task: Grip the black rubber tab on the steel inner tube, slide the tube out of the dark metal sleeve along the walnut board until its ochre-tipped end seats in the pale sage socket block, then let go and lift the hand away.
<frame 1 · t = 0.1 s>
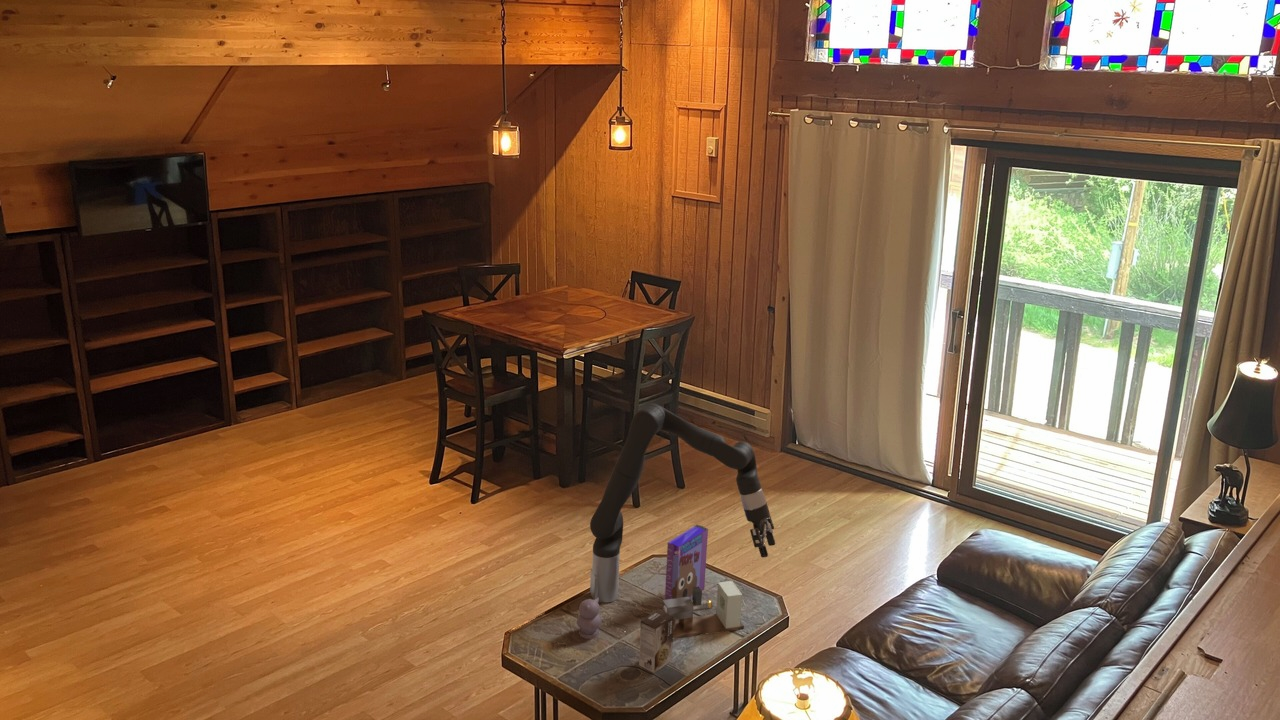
hand: (768, 550, 317), 31 cm above the table, tool tilted 20°, fingers open, 8 cm apart
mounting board: (700, 626, 331), on the table
cereal box: (684, 597, 349), on the table
coffee box: (655, 663, 311), on the table
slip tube: (688, 600, 327), point 10 cm above the table, slide at 0.0 cm
socket block: (727, 622, 334), resting on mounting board
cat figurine: (589, 633, 325), on the table
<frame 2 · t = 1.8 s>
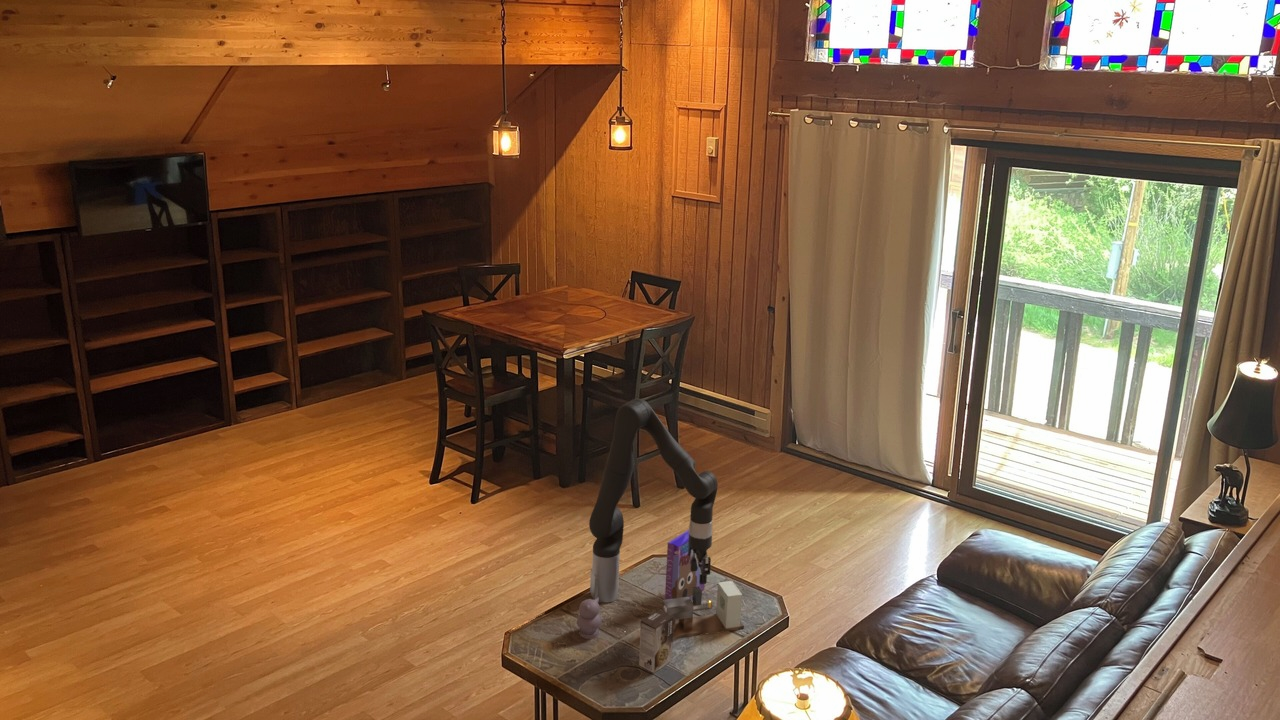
hand: (698, 577, 325), 19 cm above the table, tool pointing down, fingers open, 8 cm apart
nothing on the table moved.
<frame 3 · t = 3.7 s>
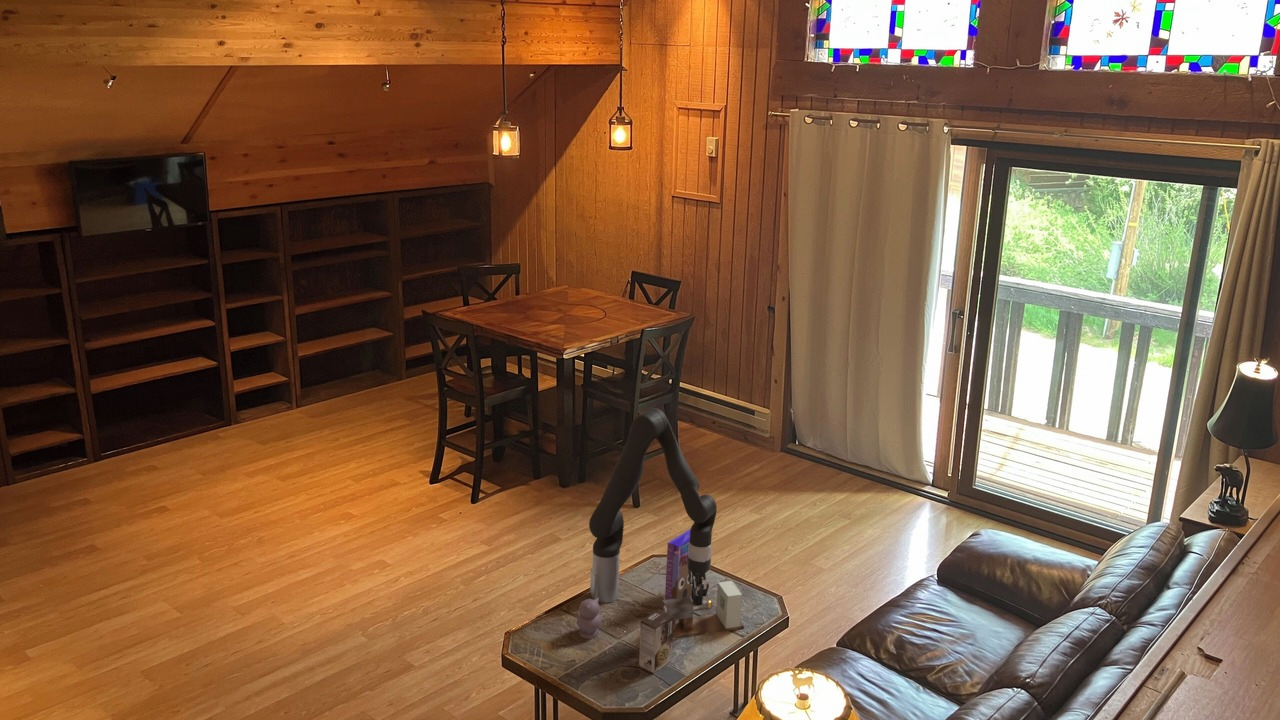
hand: (696, 601, 328), 10 cm above the table, tool pointing down, fingers closed on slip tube, 3 cm apart
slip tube: (688, 600, 327), point 10 cm above the table, slide at 0.0 cm, touching gripper
everything else where it was.
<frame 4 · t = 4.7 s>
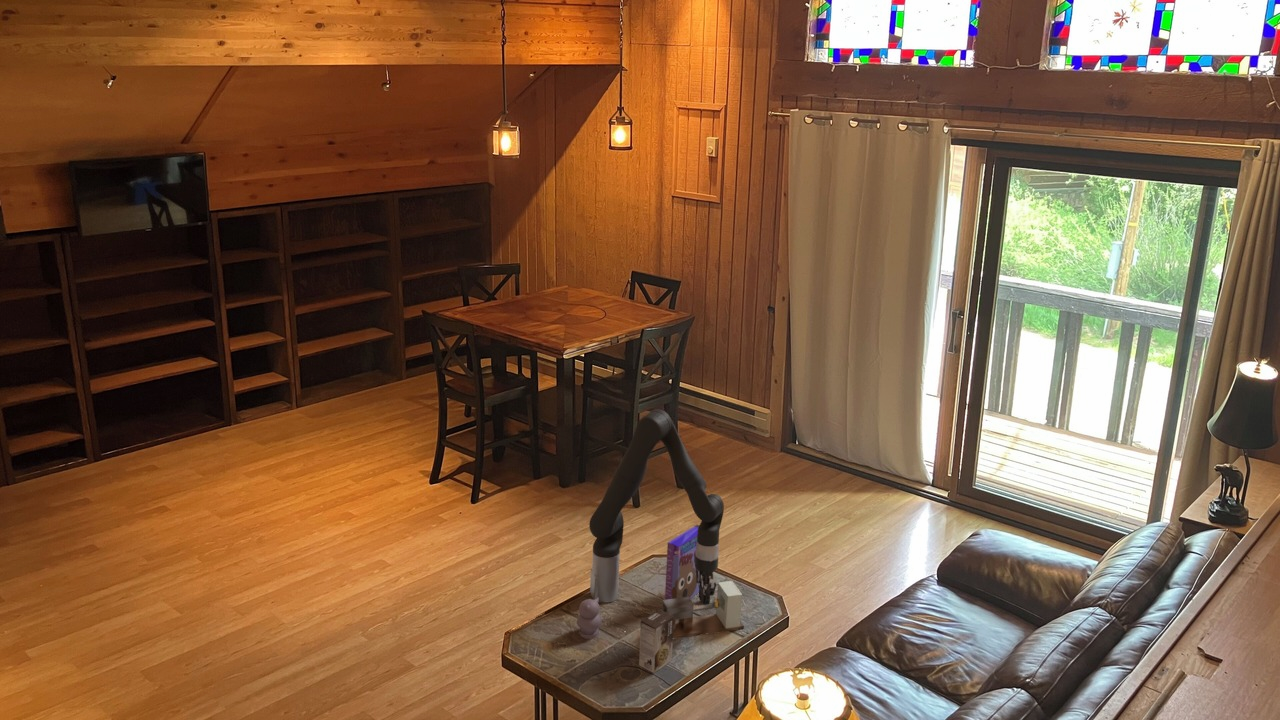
hand: (704, 600, 329), 10 cm above the table, tool pointing down, fingers closed on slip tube, 3 cm apart
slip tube: (695, 599, 328), point 10 cm above the table, slide at 2.5 cm, touching gripper
everything else where it was.
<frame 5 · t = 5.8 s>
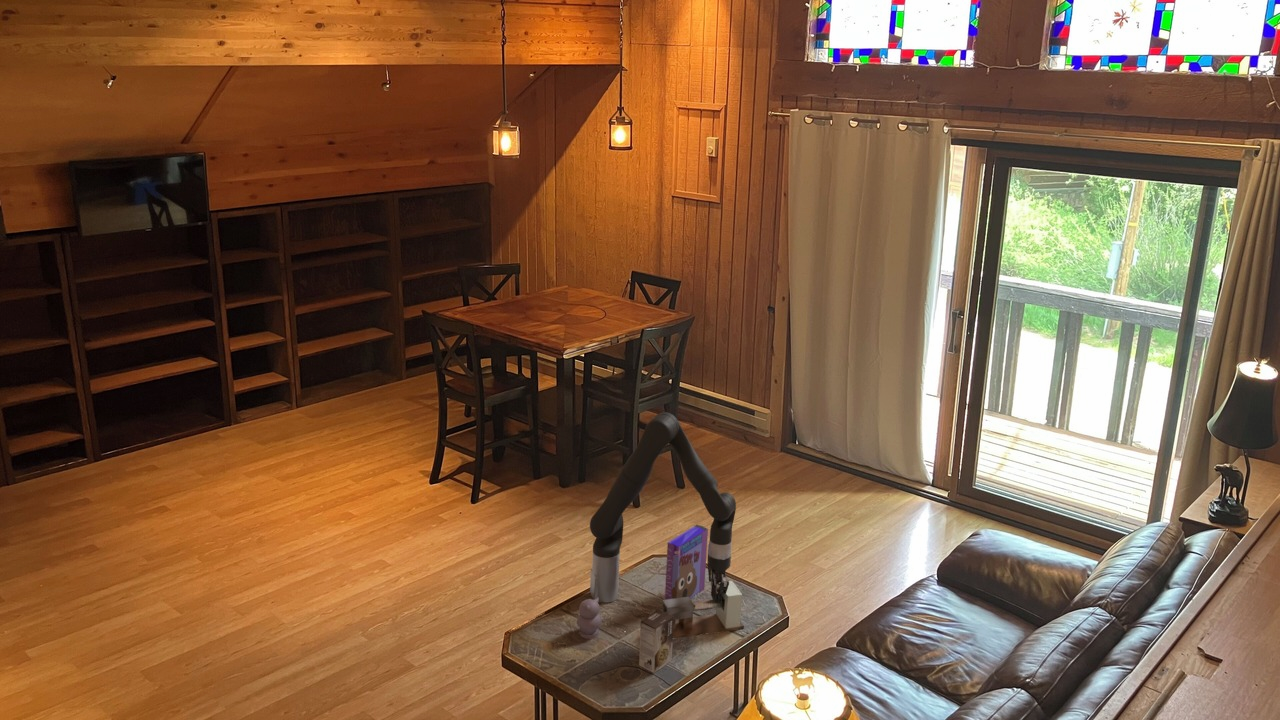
hand: (716, 599, 330), 10 cm above the table, tool pointing down, fingers closed on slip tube, 3 cm apart
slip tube: (708, 598, 329), point 10 cm above the table, slide at 6.9 cm, touching gripper
everything else where it was.
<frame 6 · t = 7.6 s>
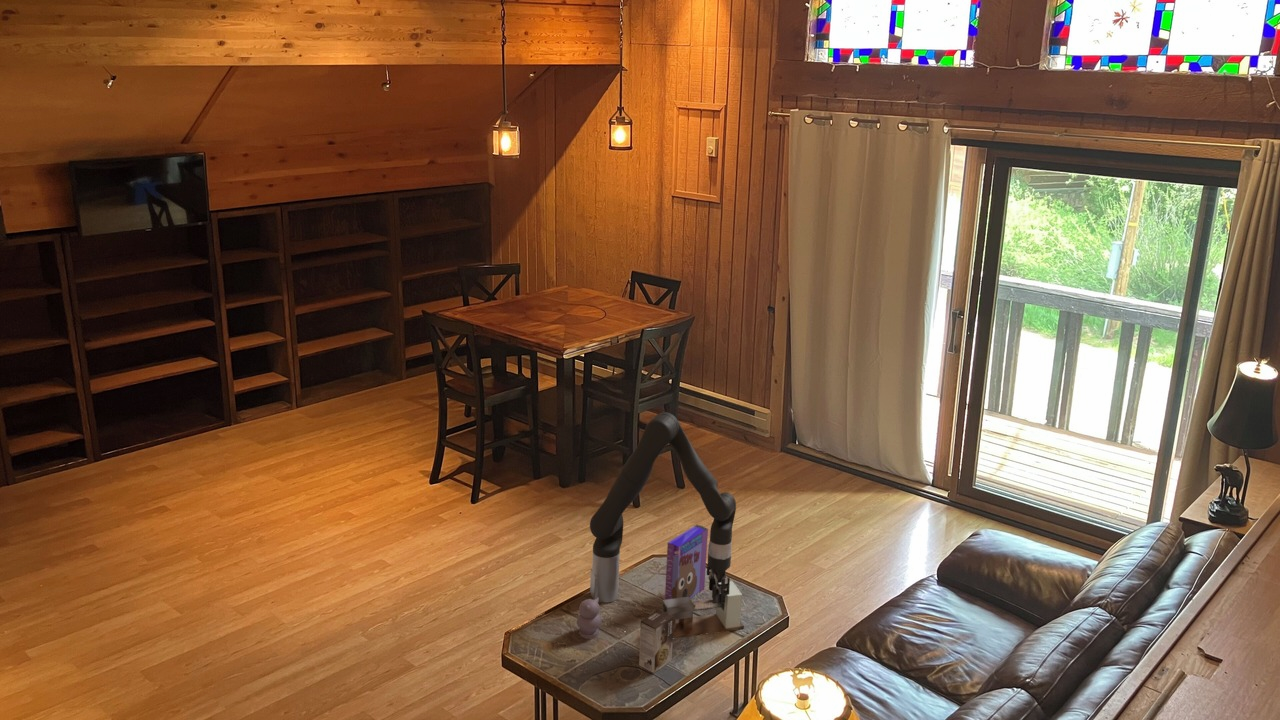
hand: (716, 596, 330), 11 cm above the table, tool pointing down, fingers open, 8 cm apart
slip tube: (708, 598, 329), point 10 cm above the table, slide at 6.9 cm
everything else where it was.
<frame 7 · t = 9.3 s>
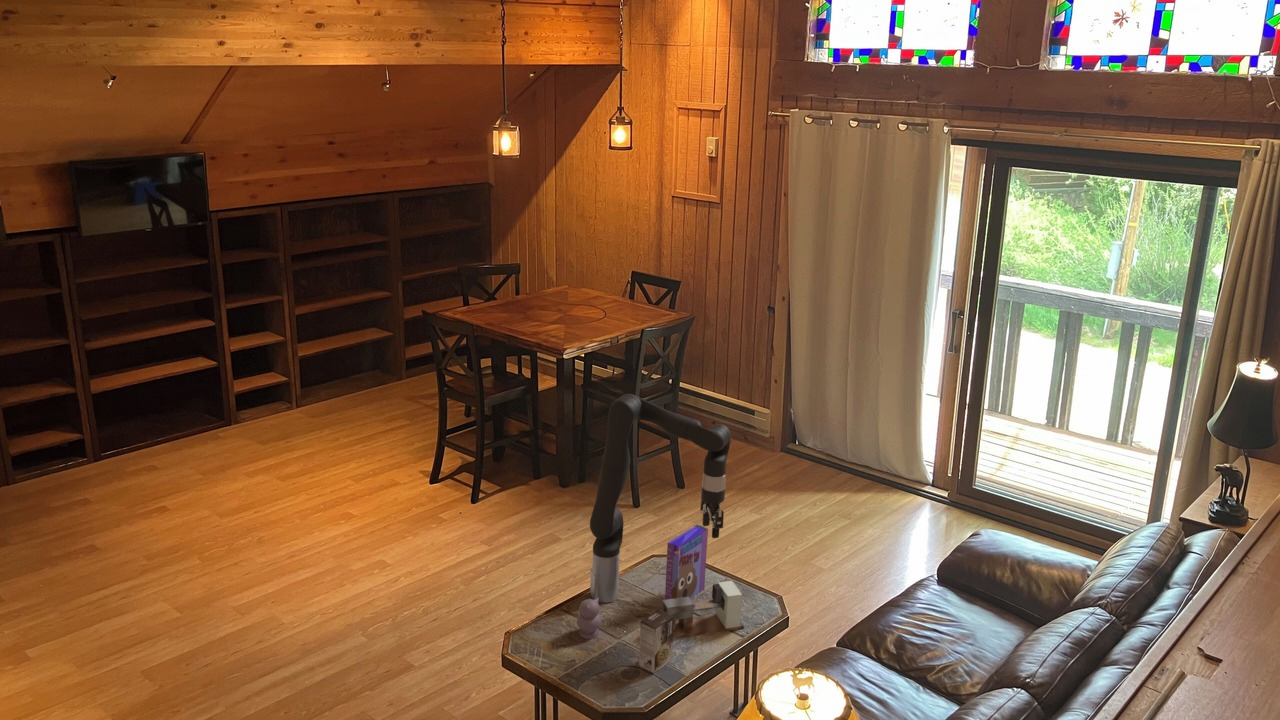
hand: (710, 531, 324), 34 cm above the table, tool pointing down, fingers open, 8 cm apart
nothing on the table moved.
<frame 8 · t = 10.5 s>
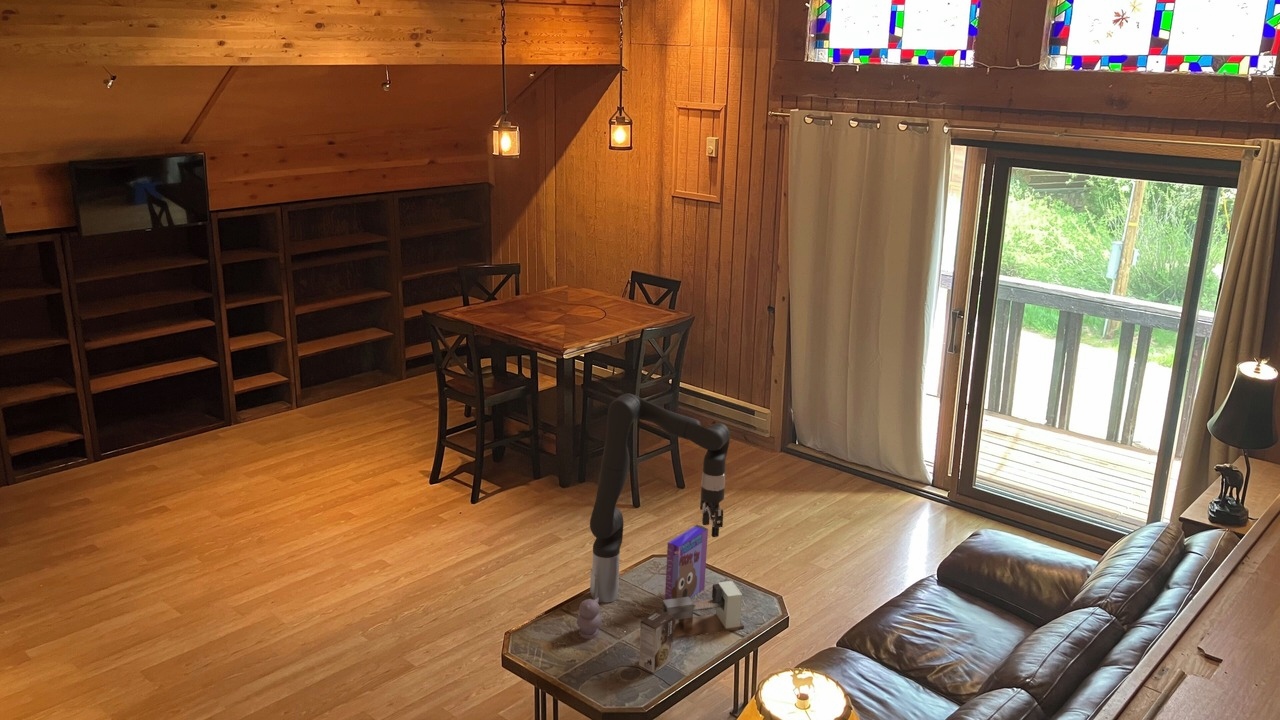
hand: (710, 530, 324), 34 cm above the table, tool pointing down, fingers open, 8 cm apart
nothing on the table moved.
at the end: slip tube slide at 6.9 cm; the gripper is holding nothing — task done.
